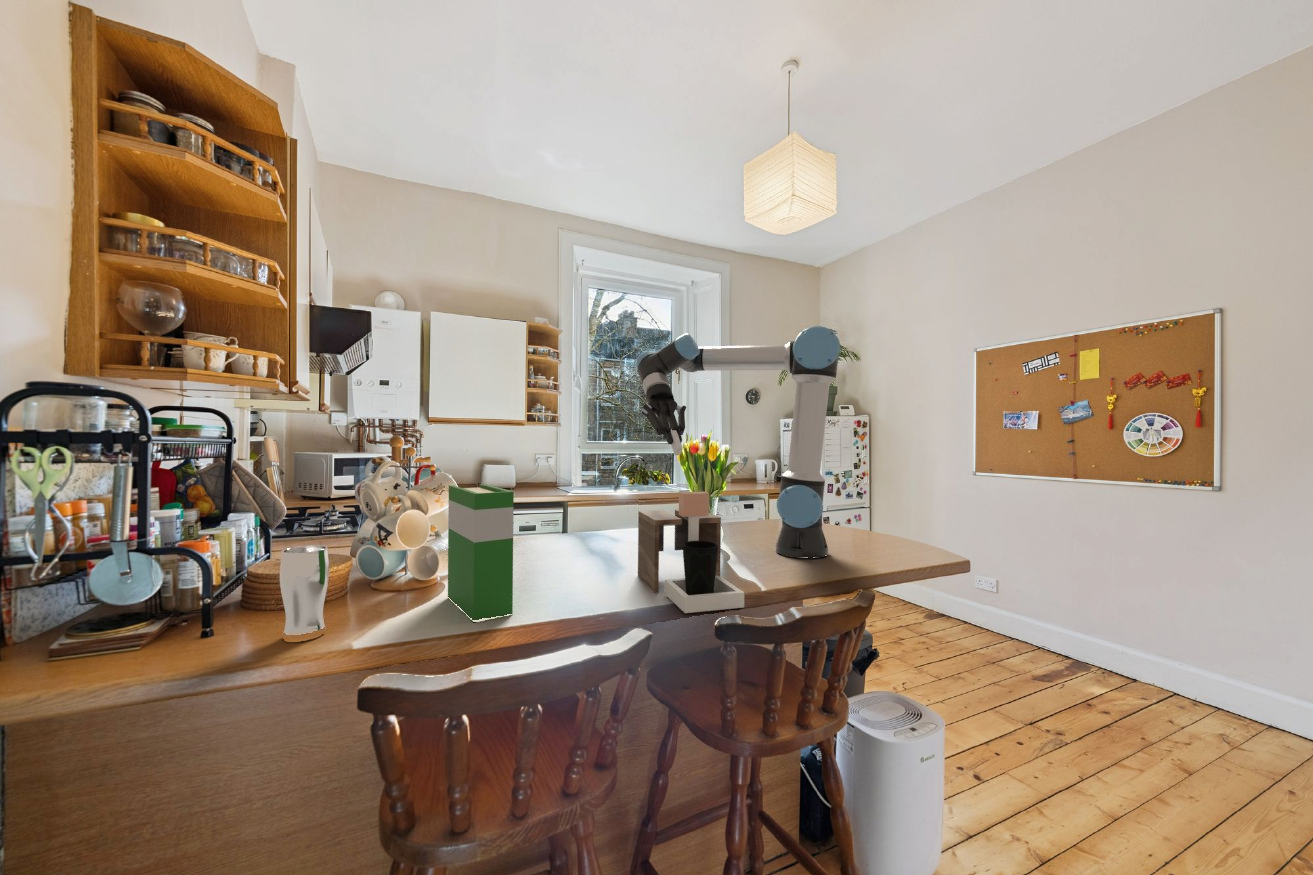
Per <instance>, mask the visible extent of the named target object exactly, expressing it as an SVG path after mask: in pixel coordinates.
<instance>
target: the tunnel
mask: <svg viewBox="0 0 1313 875" xmlns="http://www.w3.org/2000/svg"><path fill="white" fill-rule="evenodd" d="M637 514H638V517H637V518H638V521H637V522H638V524H637V526H638V527H637V531H638V533H637V542H638V543H637V576H638V578H639V579H640V580H641V581H642V582H643V583H644V584H645V585H646V586H647V587H648V588H649V589H650V590H651V591H652V592H653V593H655V594H656V593H658V594H659V584H660V582H659V578H660V576H659V572H660V571H659V570H660V569H659V568H660V567H659V566H660V552H664V549H665V548H664V544H665V543H664V539H665V538H664V530H665V527H664V526H673V525H674V551H683V546H682V544H683V543H684V542H688V517H683V516H680V515H679V509H674V514H672V513H670V512H668V511H666V510H664V509H663V510H662V509H659V510H657V509H655V510H654V509H653V510H638V513H637ZM721 531H722V517H720V516H718V515H715V514H713V513H711V512H709V516H699V541H709V542H714V543H717V544H718V556H717V565H716V575H715V576H720V577H721V553H722V552H721V549H722V548H721V546H722V543H721V542H722V541H721V540H722V539H721V536H722V532H721Z"/></svg>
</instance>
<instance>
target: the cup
mask: <svg viewBox="0 0 1313 875" xmlns="http://www.w3.org/2000/svg"><path fill="white" fill-rule="evenodd" d="M682 546H683V550H682V559H683V567H684V569H683V570H684V578H685V584H686V594H688V595H699V594H711V593H715V591H714V585H715V575H716V565H717V556H718V544H717V543H714V542H709V541H688V542H684V543H683V544H682Z"/></svg>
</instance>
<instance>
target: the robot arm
mask: <svg viewBox="0 0 1313 875" xmlns="http://www.w3.org/2000/svg"><path fill="white" fill-rule="evenodd" d="M694 339H695V338H693V337H692V336H691V334H690V333H684V334H681V335H680V336H678V337H676V338H675V339H674V340H673V341H671V342H670V343H668V344H667V345H665V346H664V347H662V348H661V349H659V350H658V351H656V352H655V351H652V350H648V351H643V352H641V353H640V354H639V355H638V357H637V359H636V368H637V374H638V376H639V378H640V382H641V385H642V388H643V391H644V394H645V397H646V401H647V404H643V407H642V410H641V413H642V415H644V416H645V417H646V419H647V420H648V422H650V424H651V426H652V427H653V429H654V431H655V433H656V434H657V435H658V436H661V435H663V439H666V442H667V444H668V445H671V448H672V451H673V454H674V455H673V456H681V454H682V451H683V446H682V441H683V438H682V436H683V435H684V433H685V430H686V417H685V416H686V414H685V413H686V409H687V405H682V406H681V405H678V403H677V401H675V397H674V394H673V390H672V388H671V386H670V383H669V380H668V378H667V376H668V375H670V374H672V373H673V372H675V371H676V370H677V369H679V368H680V369H682V370H683V371H685V372H687V373H695V372H701V371H786V372H787V373H788V374H791V378H792V379H793V380H794V381H795V383H796V386H795V387H796V388H795V396H794V404H793V405H794V406H793V414H792V415H793V416H792V422H791V423H792V424H791V425H792V426H791V435H790V445H789V454H788V464H787V469H786V470H785V471H784V472H783V473H781V475H780V476H781V477H780V486H779V495H778V497H777V500H776V509H777V513H778V514H779V517H780V518H781V528H780V532H779V534H778V536H777V540H776V543H775V552H776V553H777V554H778V553H780V554H782V555H781V556H784V555H787V556H786V557H788V556H791V557H790V558H793V557H808V558H813V557H823V556H825V555H828V556H829V545H828V543H827V539H826V538H825V533H824V530H823V510H824V505H823V504H824V503H823V502H824V495H825V494H824V492H825V486H826V479H825V478H824V476H823V475H822V474H821V467H822V460H823V459H822V457H823V448H824V447H823V446H824V441H825V440H824V439H825V438H824V437H825V429H826V419H827V413H828V412H827V410H828V402H829V392H830V385H831V384H832V383H834V381H836V380H837V373H838V372H837V371H838V362H839V355H840V352H841V342H840V339H839V337H838V336H837V334H835V332H834V331H833V330H832V329H830V328H829V327H825V326H821V325H815V326H810V327H808V328H805V329H803V330H802V331H801V332H800V333H799V334H798V335H797V336H796V338H795V340H793V341H792V340H791V341H789V342H788V343H787V344H772V345H768V344H765V345H727V346H724V345H722V346H720V345H719V346H698V343H697V342H696V341H695V340H694ZM675 412H676V413H677V416H678V417H677V418H676V415H675ZM780 554H779V555H780Z"/></svg>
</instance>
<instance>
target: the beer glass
mask: <svg viewBox="0 0 1313 875" xmlns="http://www.w3.org/2000/svg"><path fill="white" fill-rule="evenodd" d="M279 566H280V567H279V587H280V592H281V593H280V594H281V597H282V602H283V607H284V611H285V625H284V628H283V629H284V630H283V633H285V634H286V635H301V634H306V633H312V632H313V631H318V630H320V629H323V628H324V627H325V628H326V624H325V621H324V605H325V602H326V601H325V600H326V596H327V590H328V585H329V579H330V578H329V576H330V560H329V552H328V546H327V545H324V544H310V545H309V544H307V545H300V546H299V545H298V546H292V547H288V548H285V549H282V550H281V556H280V565H279Z"/></svg>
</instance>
